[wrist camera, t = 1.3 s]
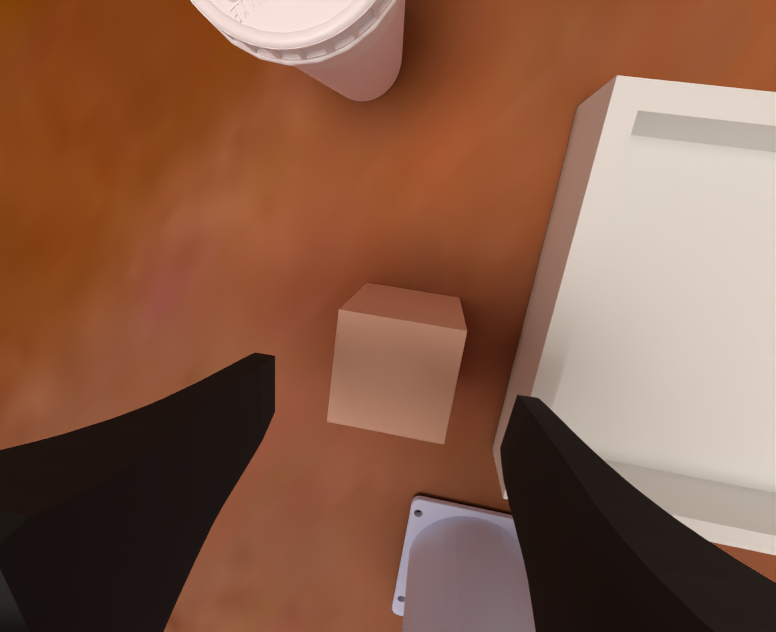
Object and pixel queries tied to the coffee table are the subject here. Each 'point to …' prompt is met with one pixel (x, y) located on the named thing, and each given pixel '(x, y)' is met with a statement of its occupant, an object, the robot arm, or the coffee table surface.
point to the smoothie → (319, 38)
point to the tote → (665, 301)
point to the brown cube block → (397, 362)
